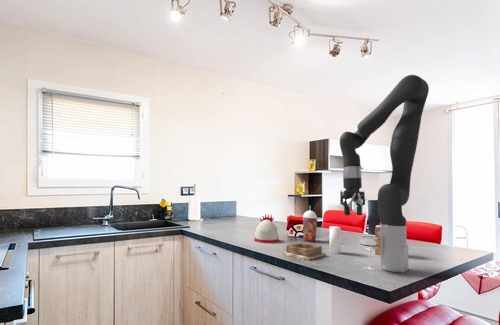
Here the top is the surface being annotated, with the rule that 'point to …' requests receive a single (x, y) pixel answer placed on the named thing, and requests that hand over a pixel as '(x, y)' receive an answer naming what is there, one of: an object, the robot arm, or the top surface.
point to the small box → (378, 235)
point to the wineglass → (369, 247)
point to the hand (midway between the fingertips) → (353, 215)
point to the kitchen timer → (266, 231)
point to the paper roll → (335, 240)
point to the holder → (304, 251)
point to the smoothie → (309, 225)
